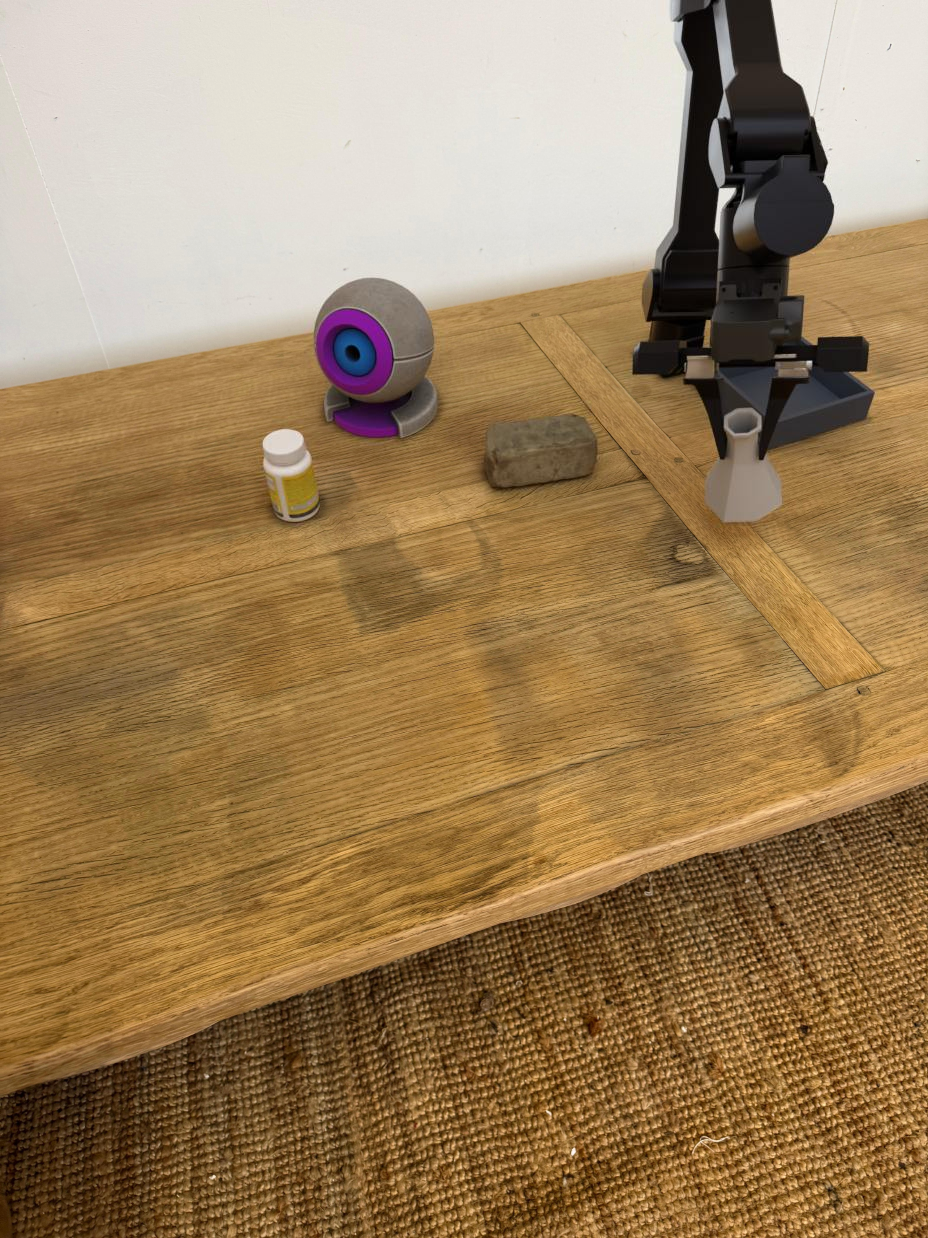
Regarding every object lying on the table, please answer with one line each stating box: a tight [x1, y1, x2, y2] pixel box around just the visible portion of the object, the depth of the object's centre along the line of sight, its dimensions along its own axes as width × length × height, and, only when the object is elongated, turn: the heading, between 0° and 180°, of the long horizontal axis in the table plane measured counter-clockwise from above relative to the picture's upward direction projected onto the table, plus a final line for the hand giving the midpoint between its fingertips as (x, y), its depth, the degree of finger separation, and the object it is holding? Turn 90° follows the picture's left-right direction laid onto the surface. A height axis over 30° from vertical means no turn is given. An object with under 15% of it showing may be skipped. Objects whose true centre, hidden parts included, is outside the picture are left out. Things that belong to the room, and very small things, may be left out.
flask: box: [704, 408, 783, 523], centre depth 84 cm, size 7×7×10 cm
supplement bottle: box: [262, 428, 321, 523], centre depth 93 cm, size 5×5×8 cm
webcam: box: [313, 277, 439, 439], centre depth 102 cm, size 13×13×15 cm
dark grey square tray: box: [718, 336, 876, 451], centre depth 105 cm, size 13×13×4 cm
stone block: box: [482, 413, 598, 488], centre depth 97 cm, size 6×12×5 cm, turn 102°
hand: (741, 459), depth 82 cm, fingers closed on flask, 3 cm apart
